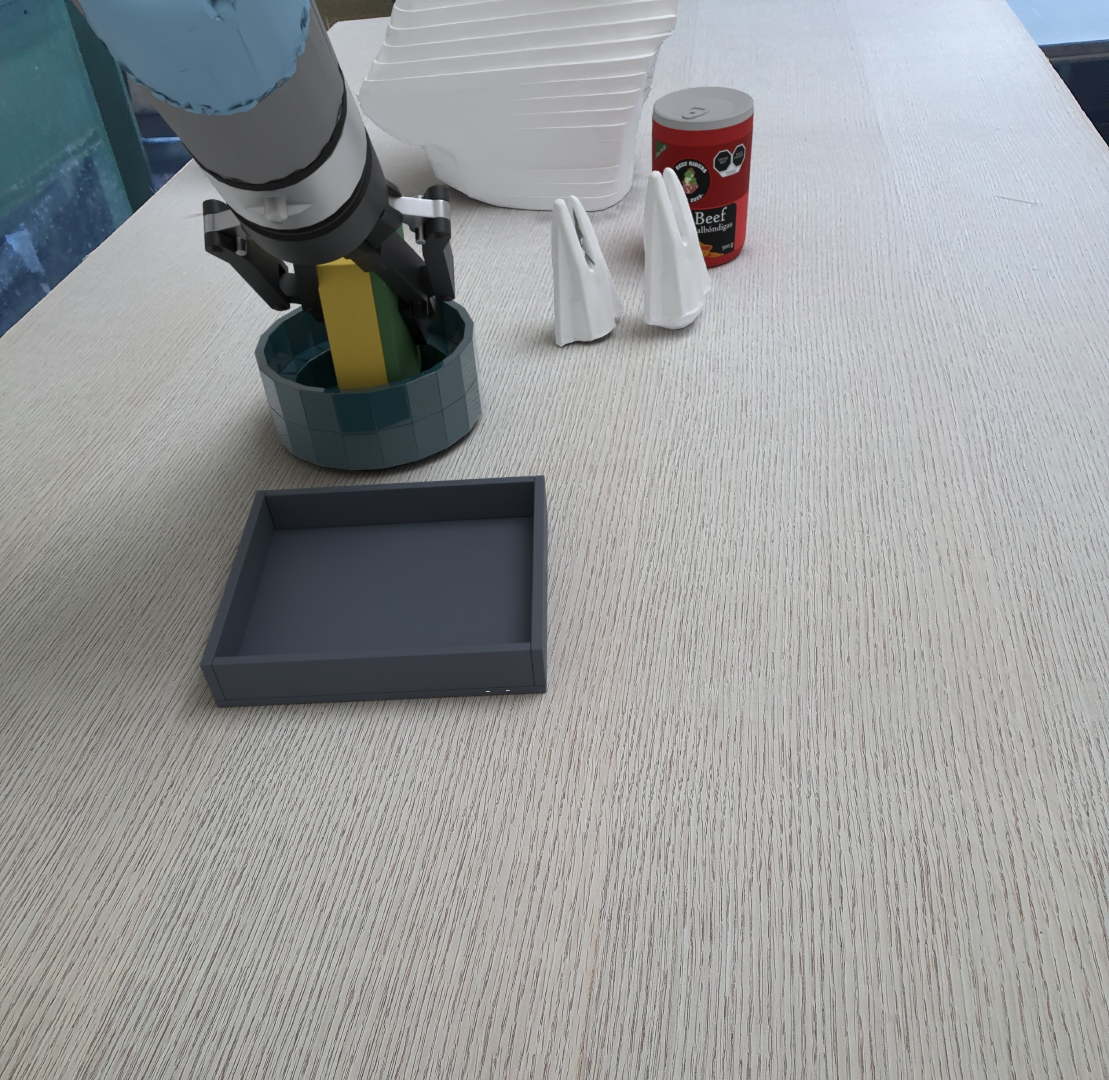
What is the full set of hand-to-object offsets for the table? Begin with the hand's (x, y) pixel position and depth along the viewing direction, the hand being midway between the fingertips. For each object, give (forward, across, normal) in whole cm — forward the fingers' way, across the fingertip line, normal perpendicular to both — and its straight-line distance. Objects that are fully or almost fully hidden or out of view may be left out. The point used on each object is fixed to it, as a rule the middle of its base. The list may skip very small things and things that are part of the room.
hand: (386, 325), depth 74 cm
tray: (-13, +2, -20) cm, 24 cm away
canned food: (+18, +23, +11) cm, 31 cm away
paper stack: (+31, +9, +24) cm, 41 cm away
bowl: (+1, -1, -6) cm, 6 cm away
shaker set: (+8, +17, +2) cm, 19 cm away
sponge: (0, 0, -5) cm, 5 cm away
